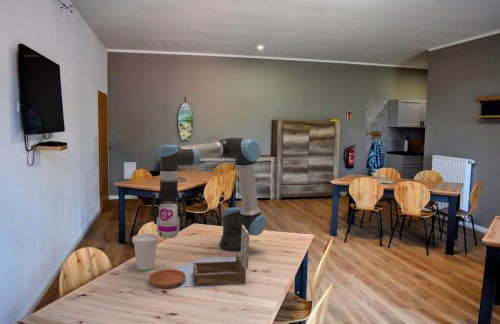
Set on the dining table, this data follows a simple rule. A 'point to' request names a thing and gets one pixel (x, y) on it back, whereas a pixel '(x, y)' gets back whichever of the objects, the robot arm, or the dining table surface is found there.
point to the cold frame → (224, 267)
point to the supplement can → (168, 220)
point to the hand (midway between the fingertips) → (168, 231)
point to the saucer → (167, 278)
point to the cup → (145, 250)
